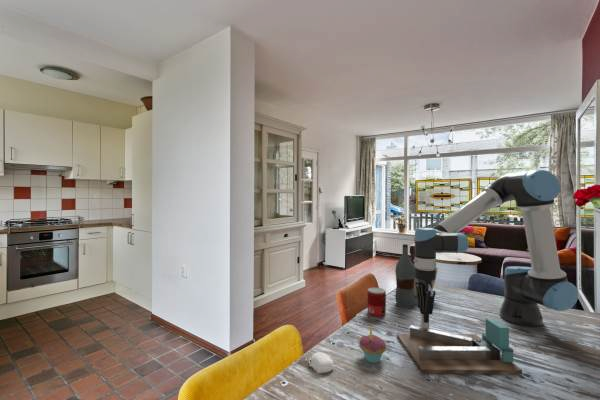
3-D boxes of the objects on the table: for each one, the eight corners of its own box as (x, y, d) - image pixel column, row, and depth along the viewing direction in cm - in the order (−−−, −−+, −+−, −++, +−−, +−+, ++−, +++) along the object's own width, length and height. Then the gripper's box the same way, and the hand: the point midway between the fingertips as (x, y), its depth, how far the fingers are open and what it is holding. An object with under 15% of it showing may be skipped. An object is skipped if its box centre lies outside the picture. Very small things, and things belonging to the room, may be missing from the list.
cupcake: (381, 369, 89) (381, 330, 89) (355, 360, 93) (355, 324, 93) (388, 356, 96) (388, 320, 96) (364, 349, 101) (364, 315, 101)
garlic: (306, 363, 92) (306, 351, 92) (324, 358, 95) (324, 347, 95) (317, 377, 85) (317, 364, 85) (337, 371, 88) (337, 359, 88)
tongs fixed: (485, 348, 99) (485, 338, 99) (499, 360, 92) (500, 350, 92) (412, 347, 99) (412, 338, 99) (421, 359, 92) (421, 349, 92)
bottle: (392, 301, 147) (393, 243, 147) (410, 301, 147) (411, 243, 147) (398, 308, 138) (398, 246, 138) (417, 308, 138) (418, 246, 138)
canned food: (386, 318, 127) (386, 293, 127) (367, 316, 129) (367, 292, 129) (384, 311, 135) (385, 287, 135) (367, 310, 136) (367, 286, 136)
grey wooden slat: (471, 346, 100) (471, 337, 100) (471, 349, 98) (471, 340, 98) (410, 332, 110) (411, 325, 110) (409, 335, 108) (409, 327, 108)
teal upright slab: (490, 344, 101) (490, 316, 101) (513, 362, 90) (513, 330, 90) (482, 344, 101) (482, 316, 101) (503, 362, 90) (503, 330, 90)
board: (475, 337, 110) (475, 334, 110) (522, 374, 87) (522, 370, 87) (396, 336, 110) (396, 333, 110) (422, 373, 87) (422, 369, 87)
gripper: (408, 264, 117) (408, 322, 117) (422, 272, 104) (421, 337, 104) (427, 264, 117) (427, 322, 117) (443, 272, 104) (442, 337, 104)
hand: (424, 329), depth 110 cm, fingers closed
